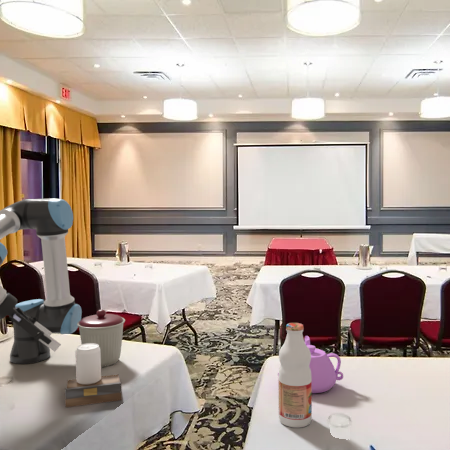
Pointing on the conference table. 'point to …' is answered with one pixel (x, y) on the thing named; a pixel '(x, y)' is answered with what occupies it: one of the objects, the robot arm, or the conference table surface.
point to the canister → (103, 335)
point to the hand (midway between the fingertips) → (53, 341)
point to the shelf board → (93, 391)
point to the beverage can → (88, 363)
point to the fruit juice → (295, 379)
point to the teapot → (322, 369)
